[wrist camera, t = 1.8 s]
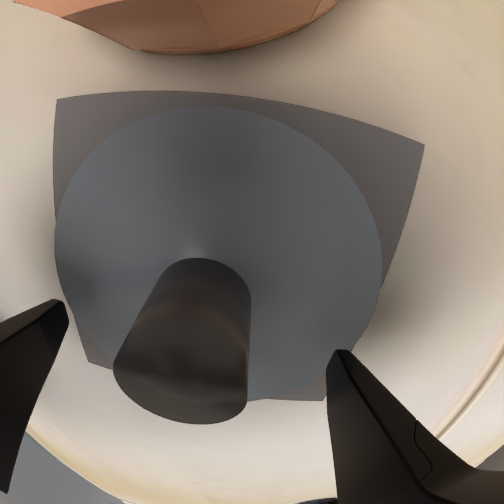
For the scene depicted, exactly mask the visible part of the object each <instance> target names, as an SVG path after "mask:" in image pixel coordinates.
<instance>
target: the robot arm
mask: <svg viewBox="0 0 504 504" xmlns="http://www.w3.org/2000/svg"><path fill="white" fill-rule="evenodd" d="M68 325H69V319H68V315H67V312H66V308H65V304H64V303H63V302H62V301H60V300H57V299H51V300H49V301H47V302H45V303H42V304H40V305H38V306H36V307H33V308H31V309H29V310H27V311H24V312H22V313H20V314H18V315H16V316H13V317H11V318H9V319H7V320H5V321H3V322H1V323H0V490H1V491H2V492H4V493H6V494H7V493H8V490H9V486H10V482H11V477H12V473H13V469H14V465H15V462H16V458H17V455H18V451H19V448H20V445H21V441H22V439H23V436H24V433H25V430H26V427H27V424H28V422H29V419H30V416H31V414H32V411H33V409H34V406H35V404H36V401H37V399H38V396H39V394H40V392H41V389H42V387H43V385H44V383H45V381H46V378H47V376H48V374H49V372H50V370H51V368H52V366H53V363H54V361H55V359H56V356H57V354H58V351H59V348H60V346H61V343H62V341H63V338H64V336H65V333H66V331H67V328H68ZM326 393H327V415H328V423H329V430H330V437H331V445H332V453H333V461H334V469H335V478H336V488H337V498H338V504H504V471H491V470H481V469H477V468H474V467H472V466H470V465H469V464H467V463H466V462H465V461H463V460H462V459H461V458H460V457H458V456H457V455H456V454H455V453H453V452H452V451H451V450H450V449H448V448H447V447H446V446H445V445H444V444H442V443H441V442H440V441H439V440H438V439H437V438H436V437H434V436H433V435H432V434H431V433H430V432H429V431H428V430H427V429H426V428H425V427H424V426H423V425H422V424H421V423H420V422H419V421H418V420H416V418H415V417H414V416H413V415H412V414H411V413H410V412H409V411H408V410H407V409H406V408H405V407H404V406H403V405H402V404H401V403H400V402H399V401H398V400H397V399H396V398H395V397H394V396H393V395H392V394H391V393H390V391H389V390H388V389H387V388H386V387H385V386H384V385H383V384H382V383H381V382H380V381H379V380H378V379H377V378H376V377H375V376H374V375H373V374H372V373H371V372H370V371H369V370H368V369H367V368H366V367H365V366H364V365H363V364H362V363H361V362H360V361H359V360H358V359H357V358H356V357H355V356H354V355H353V354H352V353H351V352H350V351H349V350H347V349H336V350H335V351H334V352H333V354H332V356H331V358H330V360H329V362H328V364H327V367H326Z"/></svg>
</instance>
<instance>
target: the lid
mask: <svg viewBox="0 0 504 504" xmlns="http://www.w3.org/2000/svg"><path fill="white" fill-rule="evenodd" d="M55 260H56V267H57V273H58V276H59V280H60V284H61V287H62V290H63V293H64V295H65V298H66V300H67V303H68V305H69V307H70V309H71V310H72V312H73V314H74V316H75V318H76V320H77V321H78V322H79V324H80V325H81V327H82V328H83V330H84V331H85V333H86V334H87V335H88V336H89V337H90V339H91V340H92V341H93V342H94V343H95V344H96V346H97V347H98V348H99V349H100V350H102V351H103V352H104V353H105V354H106V355H107V356H108V357H109V358H110V359H111V360H113V361H114V363H113V373H114V377H115V379H116V381H117V383H118V385H119V386H120V388H121V389H122V390H123V392H124V393H125V394H126V395H127V396H128V397H129V398H130V399H132V400H133V401H134V402H135V403H137V404H138V405H140V406H141V407H143V408H144V409H146V410H148V411H150V412H152V413H154V414H156V415H158V416H161V417H163V418H166V419H169V420H173V421H177V422H182V423H188V424H214V423H220V422H224V421H227V420H229V419H231V418H233V417H235V416H237V415H238V414H239V413H240V412H241V411H242V410H243V409H244V408H245V406H246V403H247V401H254V400H260V399H266V398H270V397H274V396H278V395H281V394H284V393H287V392H290V391H292V390H295V389H297V388H300V387H302V386H304V385H306V384H308V383H310V382H312V381H313V380H315V379H317V378H318V377H320V376H321V375H323V374H325V373H326V367H327V364H328V362H329V360H330V358H331V356H332V354H333V352H334V351H335V350H336V349H347V350H349V351H350V350H351V349H352V348H353V346H354V345H355V344H356V342H357V341H358V340H359V338H360V337H361V336H362V334H363V332H364V330H365V329H366V327H367V325H368V323H369V321H370V319H371V317H372V314H373V312H374V309H375V306H376V304H377V300H378V296H379V291H380V287H381V277H382V255H381V244H380V239H379V235H378V231H377V228H376V224H375V220H374V218H373V216H372V213H371V211H370V209H369V207H368V204H367V202H366V200H365V198H364V196H363V195H362V193H361V192H360V190H359V188H358V187H357V185H356V184H355V182H354V181H353V179H352V178H351V176H350V175H349V174H348V173H347V172H346V171H345V170H344V168H343V167H342V166H341V165H340V164H339V163H338V162H337V161H336V160H335V159H334V158H333V157H332V156H331V155H330V154H329V153H328V152H327V151H325V150H324V149H323V148H321V147H320V146H319V145H318V144H316V143H315V142H314V141H313V140H311V139H310V138H309V137H307V136H305V135H303V134H302V133H300V132H298V131H296V130H294V129H293V128H291V127H289V126H287V125H285V124H283V123H281V122H279V121H276V120H273V119H271V118H268V117H265V116H262V115H259V114H256V113H253V112H249V111H244V110H238V109H233V108H227V107H209V106H193V107H185V108H178V109H172V110H166V111H162V112H159V113H156V114H153V115H150V116H147V117H144V118H141V119H139V120H137V121H135V122H133V123H131V124H129V125H127V126H125V127H123V128H121V129H120V130H118V131H116V132H115V133H114V134H112V135H111V136H110V137H108V138H107V139H106V140H104V141H103V142H102V143H100V144H99V145H98V146H97V147H96V148H95V149H94V150H93V151H92V152H91V153H90V154H89V156H88V157H87V158H86V159H85V160H84V161H83V162H82V164H81V165H80V167H79V168H78V170H77V171H76V173H75V174H74V176H73V177H72V179H71V180H70V182H69V185H68V187H67V189H66V191H65V193H64V196H63V198H62V201H61V204H60V208H59V211H58V215H57V221H56V228H55Z"/></svg>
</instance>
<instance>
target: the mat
mask: <svg viewBox="0 0 504 504" xmlns="http://www.w3.org/2000/svg"><path fill="white" fill-rule="evenodd" d="M193 106H209V107H227V108H233V109H238V110H244V111H249V112H253V113H256V114H259V115H262V116H265V117H268V118H271V119H273V120H276V121H279V122H281V123H283V124H285V125H287V126H289V127H291V128H293V129H294V130H296V131H298V132H300V133H302V134H303V135H305V136H307V137H309V138H310V139H311V140H313V141H314V142H315V143H316V144H318V145H319V146H320V147H321V148H323V149H324V150H325V151H327V152H328V153H329V154H330V155H331V156H332V157H333V158H334V159H335V160H336V161H337V162H338V163H339V164H340V165H341V166H342V167H343V168H344V170H345V171H346V172H347V173H348V174H349V175H350V176H351V178H352V179H353V181H354V182H355V184H356V185H357V187H358V188H359V190H360V192H361V193H362V195H363V196H364V198H365V200H366V202H367V204H368V207H369V209H370V211H371V213H372V216H373V218H374V220H375V224H376V228H377V231H378V235H379V239H380V244H381V255H382V277H381V286H382V284H383V282H384V279H385V277H386V274H387V272H388V269H389V266H390V264H391V261H392V258H393V256H394V253H395V250H396V247H397V244H398V242H399V239H400V236H401V233H402V230H403V227H404V223H405V220H406V217H407V214H408V210H409V207H410V204H411V200H412V196H413V193H414V189H415V185H416V181H417V177H418V173H419V169H420V165H421V160H422V156H423V151H424V146H425V145H424V144H421V143H419V142H417V141H414V140H412V139H409V138H407V137H404V136H401V135H399V134H396V133H393V132H391V131H388V130H385V129H382V128H379V127H376V126H373V125H370V124H367V123H364V122H360V121H357V120H354V119H350V118H347V117H343V116H340V115H336V114H332V113H328V112H324V111H320V110H316V109H312V108H307V107H303V106H298V105H293V104H288V103H283V102H277V101H271V100H265V99H259V98H252V97H244V96H236V95H227V94H217V93H204V92H186V91H131V92H113V93H101V94H91V95H83V96H75V97H68V98H62V99H57V103H56V112H55V124H54V141H53V187H54V204H55V216H56V221H57V215H58V211H59V208H60V204H61V201H62V198H63V196H64V193H65V191H66V189H67V187H68V185H69V182H70V180H71V179H72V177H73V176H74V174H75V173H76V171H77V170H78V168H79V167H80V165H81V164H82V162H83V161H84V160H85V159H86V158H87V157H88V156H89V154H90V153H91V152H92V151H93V150H94V149H95V148H96V147H97V146H98V145H99V144H100V143H102V142H103V141H104V140H106V139H107V138H108V137H110V136H111V135H112V134H114V133H115V132H116V131H118V130H120V129H121V128H123V127H125V126H127V125H129V124H131V123H133V122H135V121H137V120H139V119H141V118H144V117H147V116H150V115H153V114H156V113H159V112H162V111H166V110H172V109H178V108H185V107H193ZM380 289H381V287H380ZM73 315H74V314H73ZM74 318H75V316H74ZM75 322H76V325H77V329H78V332H79V335H80V338H81V342H82V345H83V348H84V351H85V353H86V356H87V359H88V362H90V363H93V364H96V365H99V366H102V367H105V368H108V369H112V370H113V363H114V361H113V360H111V359H110V358H109V357H108V356H107V355H106V354H105V353H104V352H103V351H102V350H100V349H99V348H98V347H97V346H96V344H95V343H94V342H93V341H92V340H91V339H90V337H89V336H88V335H87V334H86V333H85V331H84V330H83V328H82V327H81V325H80V324H79V322H78V321H77V320H76V318H75ZM353 347H354V346H353ZM352 349H353V348H352ZM352 349H351V350H350V352H351V351H352ZM326 395H327V393H326V373H325V374H323V375H321V376H320V377H318V378H317V379H315V380H313V381H312V382H310V383H308V384H306V385H304V386H302V387H300V388H297V389H295V390H292V391H290V392H287V393H284V394H281V395H278V396H274V397H270V398H266V399H278V400H299V401H323V400H324V398H325V397H326Z"/></svg>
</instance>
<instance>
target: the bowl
mask: <svg viewBox="0 0 504 504" xmlns="http://www.w3.org/2000/svg"><path fill="white" fill-rule="evenodd" d="M338 1H339V0H13V2H15V3H19V4H23V5H26V6H30V7H33V8H36V9H39V10H42V11H45V12H48V13H51V14H54V15H56V16H59V17H60V18H63V19H65V20H68V21H70V22H73V23H75V24H78V25H80V26H83V27H85V28H87V29H90V30H92V31H94V32H96V33H99V34H101V35H103V36H105V37H107V38H109V39H111V40H113V41H115V42H118V43H120V44H122V45H124V46H125V47H127V48H129V49H131V50H137V49H139V50H143V51H147V52H155V53H161V54H179V55H185V54H205V53H214V52H223V51H229V50H234V49H239V48H245V47H249V46H252V45H256V44H260V43H264V42H267V41H270V40H273V39H276V38H279V37H282V36H285V35H287V34H289V33H291V32H294V31H296V30H298V29H301V28H303V27H304V26H306V25H308V24H310V23H311V22H313V21H315V20H317V19H318V18H319V17H321V16H322V15H323V14H325V13H326V12H328V11H329V10H330V9H331V8H332V7H333V6H334V5H335V4H336V3H337V2H338Z"/></svg>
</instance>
